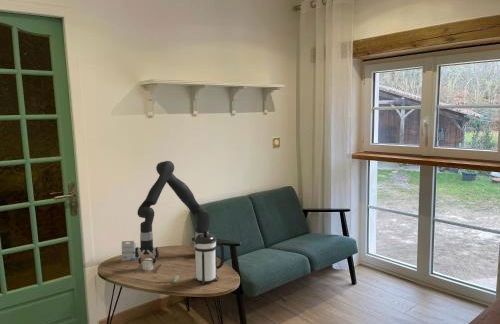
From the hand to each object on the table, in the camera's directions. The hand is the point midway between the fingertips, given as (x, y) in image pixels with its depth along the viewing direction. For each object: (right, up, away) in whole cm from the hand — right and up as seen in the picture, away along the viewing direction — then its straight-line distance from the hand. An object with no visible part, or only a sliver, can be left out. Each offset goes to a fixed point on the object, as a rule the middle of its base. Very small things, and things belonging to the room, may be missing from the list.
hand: (147, 263), depth 234 cm
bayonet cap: (0, -3, 0) cm, 3 cm away
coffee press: (+39, -6, -12) cm, 42 cm away
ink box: (-17, -3, +17) cm, 24 cm away
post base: (0, -5, +1) cm, 5 cm away
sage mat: (+15, -6, -12) cm, 21 cm away
